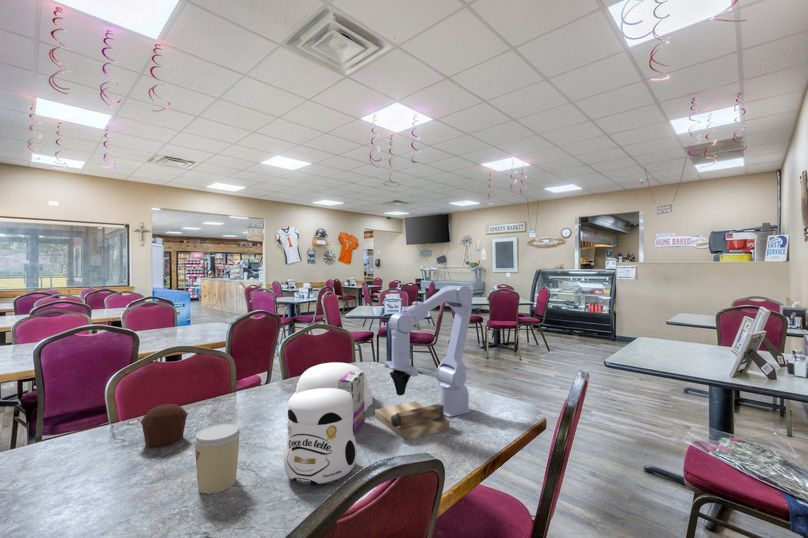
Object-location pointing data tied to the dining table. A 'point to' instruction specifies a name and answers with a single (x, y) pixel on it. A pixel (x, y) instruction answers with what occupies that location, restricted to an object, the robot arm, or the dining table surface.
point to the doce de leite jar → (320, 436)
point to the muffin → (164, 425)
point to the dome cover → (330, 379)
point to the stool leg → (417, 415)
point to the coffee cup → (217, 457)
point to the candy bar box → (355, 395)
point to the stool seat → (413, 429)
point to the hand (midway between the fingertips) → (400, 394)
